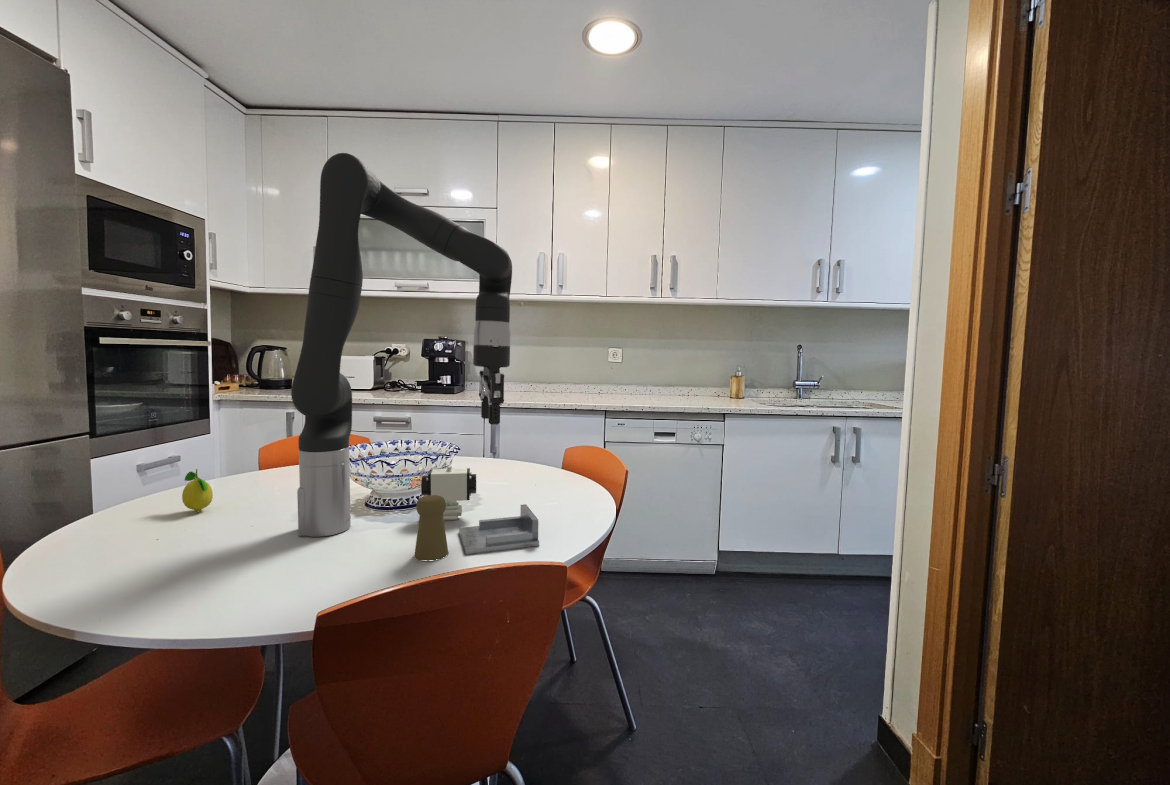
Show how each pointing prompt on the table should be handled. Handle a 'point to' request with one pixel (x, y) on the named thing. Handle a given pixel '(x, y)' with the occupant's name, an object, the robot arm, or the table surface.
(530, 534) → the bracket
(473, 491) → the pneumatic valve
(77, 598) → the table surface
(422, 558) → the cork
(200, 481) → the lemon
